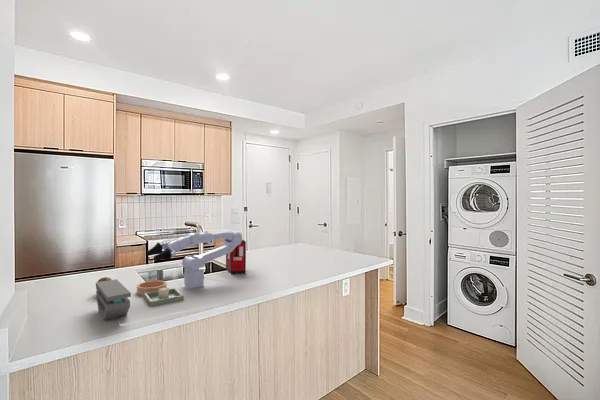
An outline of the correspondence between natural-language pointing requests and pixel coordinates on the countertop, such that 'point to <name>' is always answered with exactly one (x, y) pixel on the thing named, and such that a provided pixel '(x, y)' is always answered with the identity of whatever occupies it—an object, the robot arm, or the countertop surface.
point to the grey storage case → (112, 299)
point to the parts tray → (173, 296)
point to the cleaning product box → (237, 259)
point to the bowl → (150, 286)
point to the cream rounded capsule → (163, 293)
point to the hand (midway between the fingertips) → (150, 256)
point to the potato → (103, 280)
